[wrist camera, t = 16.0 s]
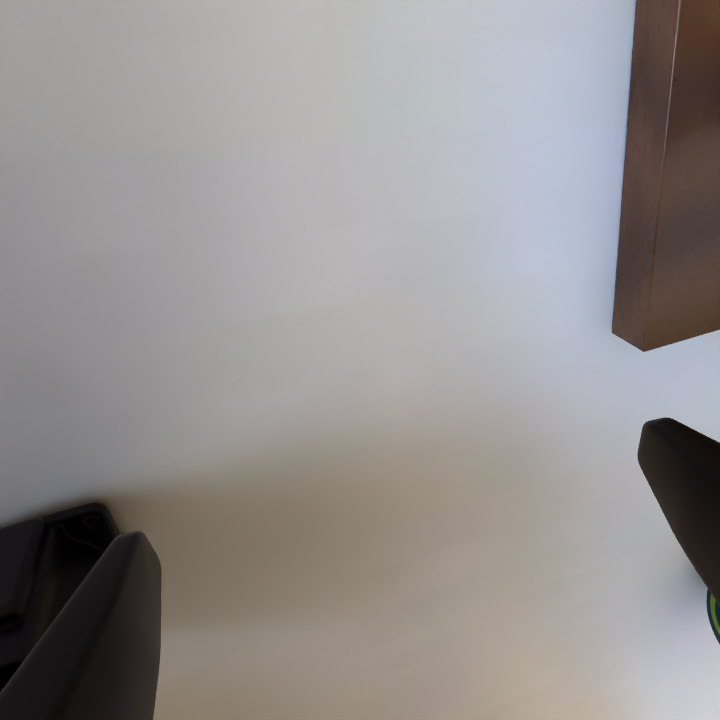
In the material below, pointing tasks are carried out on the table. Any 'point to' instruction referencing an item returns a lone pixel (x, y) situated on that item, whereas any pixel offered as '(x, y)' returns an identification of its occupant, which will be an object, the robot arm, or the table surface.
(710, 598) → the christmas ornament
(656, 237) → the walnut board
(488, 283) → the table surface
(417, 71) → the table surface
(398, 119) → the table surface
